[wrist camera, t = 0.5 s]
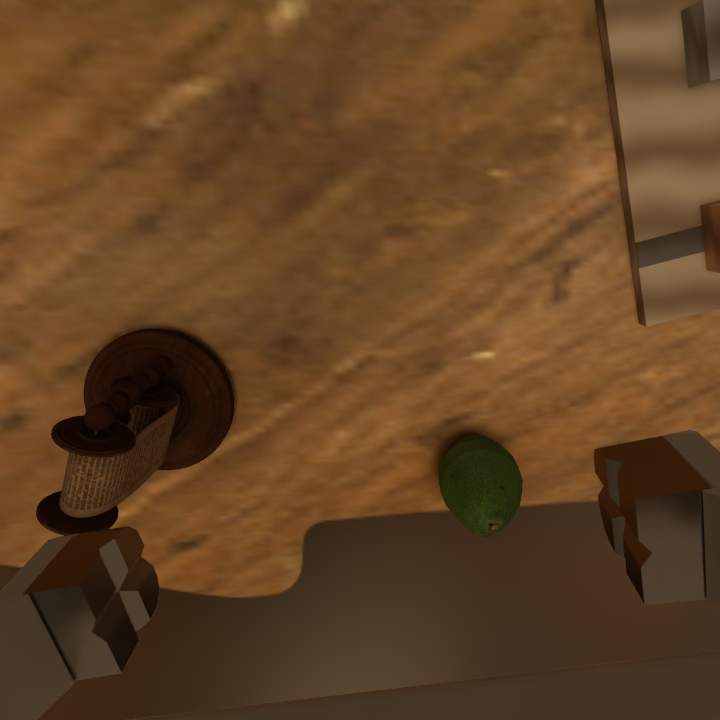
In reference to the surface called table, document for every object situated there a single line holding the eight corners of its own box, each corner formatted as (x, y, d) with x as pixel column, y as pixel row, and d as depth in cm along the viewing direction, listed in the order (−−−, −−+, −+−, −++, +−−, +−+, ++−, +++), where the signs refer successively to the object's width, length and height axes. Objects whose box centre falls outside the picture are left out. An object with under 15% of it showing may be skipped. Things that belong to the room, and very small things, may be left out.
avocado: (426, 483, 61) (439, 550, 49) (442, 416, 58) (460, 471, 47) (498, 495, 61) (528, 566, 49) (517, 430, 59) (553, 487, 47)
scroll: (217, 475, 61) (148, 605, 42) (83, 435, 60) (-52, 549, 40) (253, 352, 57) (195, 432, 38) (110, 305, 56) (-25, 364, 36)
